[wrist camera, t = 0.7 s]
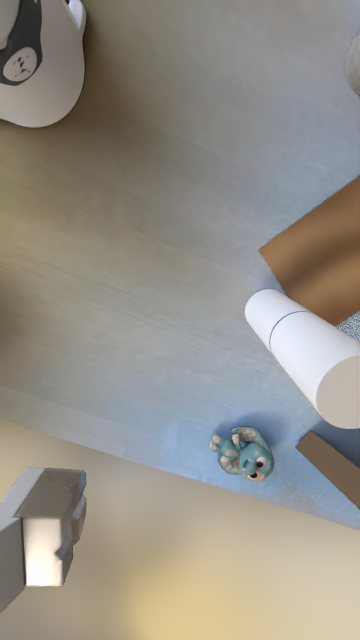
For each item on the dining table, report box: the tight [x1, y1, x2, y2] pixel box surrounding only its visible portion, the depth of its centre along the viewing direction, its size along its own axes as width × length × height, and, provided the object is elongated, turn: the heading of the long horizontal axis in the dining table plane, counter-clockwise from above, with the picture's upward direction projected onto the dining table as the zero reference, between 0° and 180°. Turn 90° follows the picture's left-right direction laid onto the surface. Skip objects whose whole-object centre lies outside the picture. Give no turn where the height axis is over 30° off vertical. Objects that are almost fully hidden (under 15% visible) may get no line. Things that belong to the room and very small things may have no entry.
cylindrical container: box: [245, 289, 360, 429], centre depth 38 cm, size 7×7×25 cm
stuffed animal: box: [209, 426, 275, 481], centre depth 55 cm, size 11×7×12 cm
